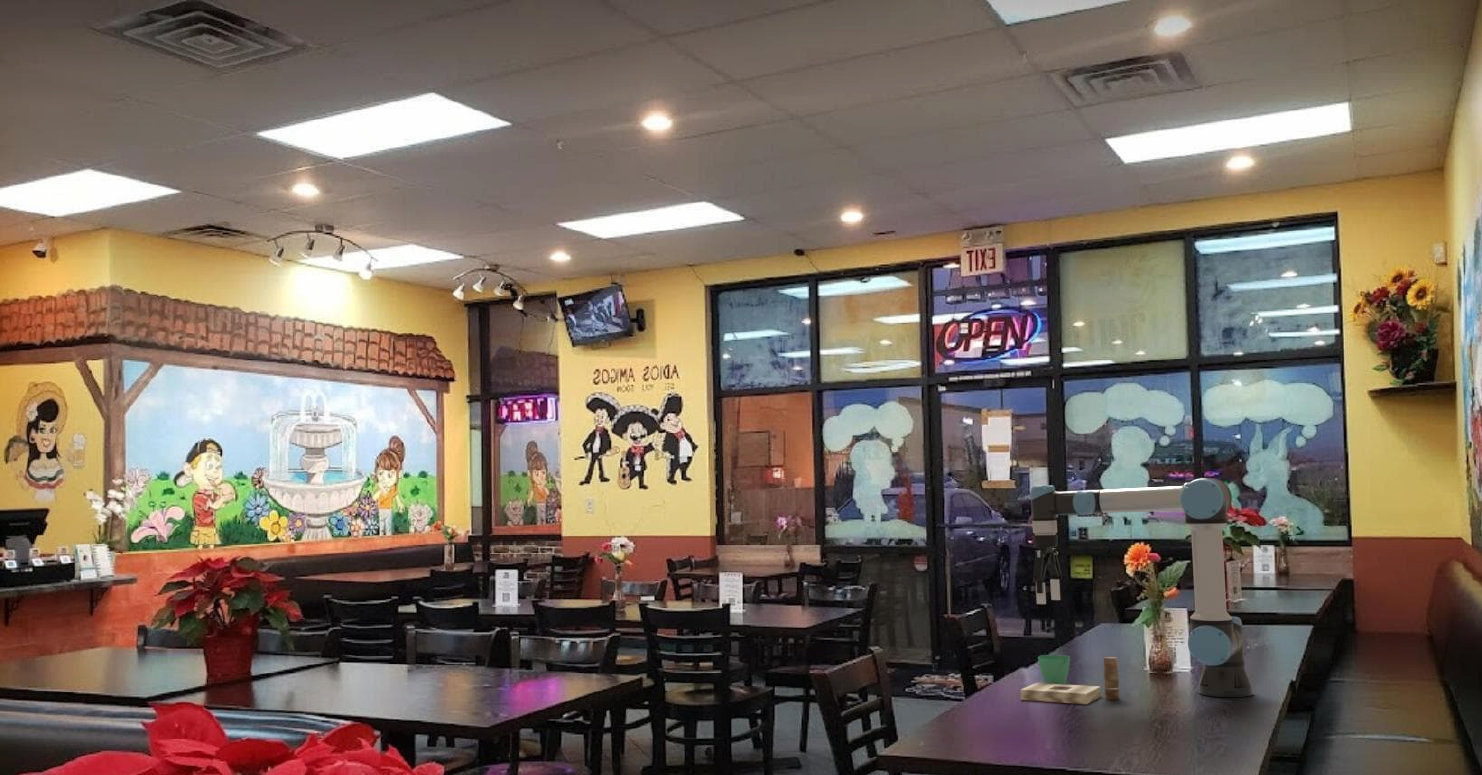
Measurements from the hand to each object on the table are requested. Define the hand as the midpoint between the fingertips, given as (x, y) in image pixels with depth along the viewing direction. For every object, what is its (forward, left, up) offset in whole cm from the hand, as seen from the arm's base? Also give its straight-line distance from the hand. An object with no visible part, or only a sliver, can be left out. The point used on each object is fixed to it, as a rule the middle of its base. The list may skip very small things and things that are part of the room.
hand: (1048, 601), depth 378 cm
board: (-6, +13, -27) cm, 31 cm away
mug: (+1, -6, -28) cm, 28 cm away
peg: (-20, +7, -28) cm, 35 cm away
